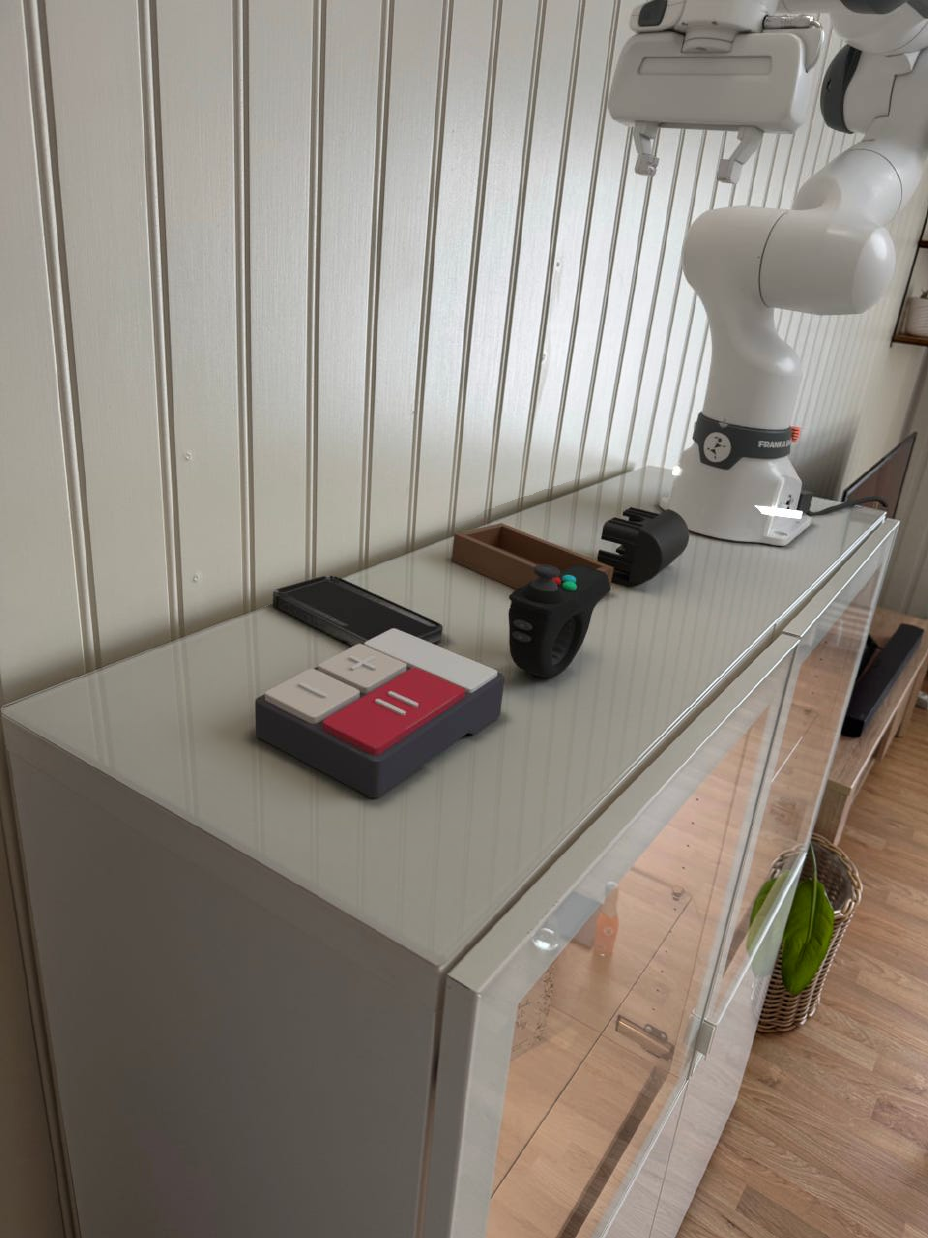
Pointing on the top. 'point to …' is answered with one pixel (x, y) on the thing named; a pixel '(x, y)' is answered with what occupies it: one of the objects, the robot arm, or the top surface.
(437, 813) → the top surface
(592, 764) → the top surface
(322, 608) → the phone
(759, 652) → the top surface
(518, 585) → the holder
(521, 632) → the controller
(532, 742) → the top surface
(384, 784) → the calculator
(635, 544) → the end cap
